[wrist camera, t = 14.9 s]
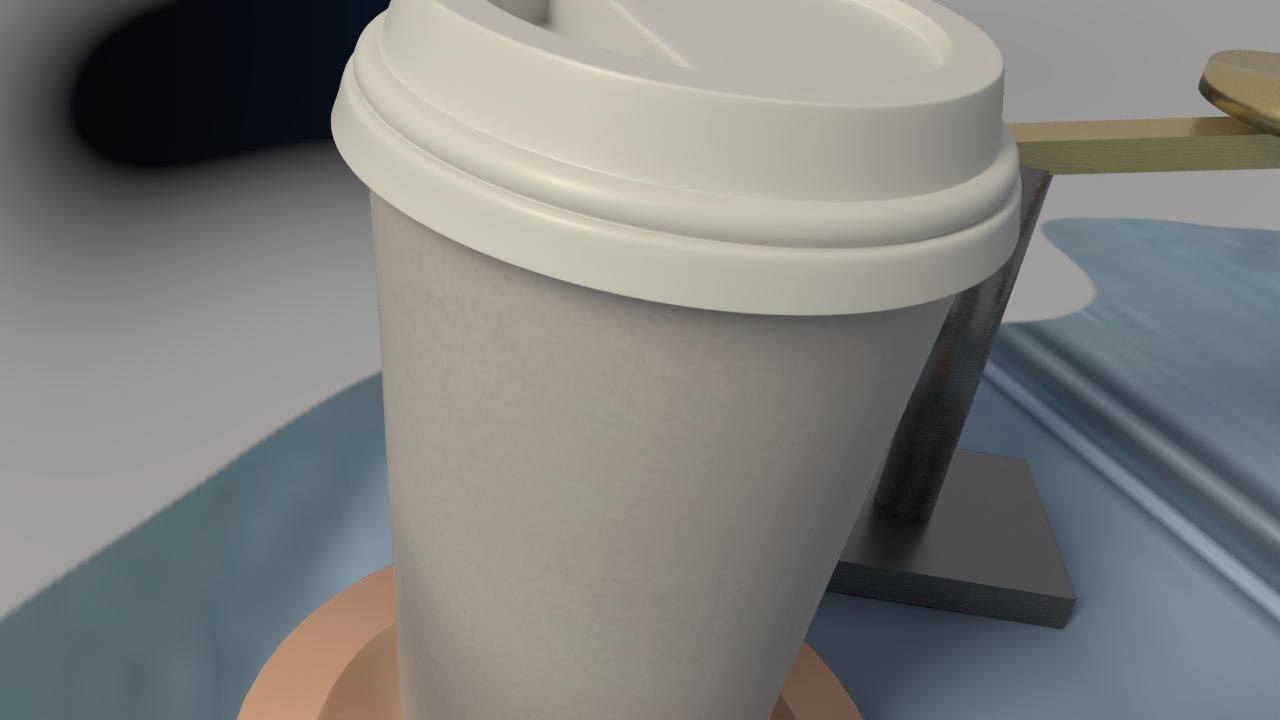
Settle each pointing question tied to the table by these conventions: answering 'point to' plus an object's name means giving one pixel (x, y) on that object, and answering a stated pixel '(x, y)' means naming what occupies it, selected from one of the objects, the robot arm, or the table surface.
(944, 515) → the balance
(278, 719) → the dish
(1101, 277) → the table surface
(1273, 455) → the table surface
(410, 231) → the coffee cup
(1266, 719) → the table surface
